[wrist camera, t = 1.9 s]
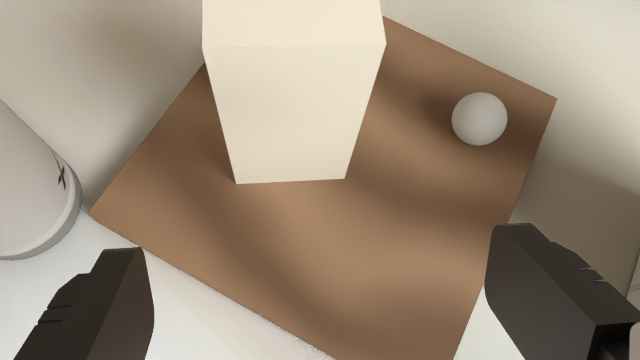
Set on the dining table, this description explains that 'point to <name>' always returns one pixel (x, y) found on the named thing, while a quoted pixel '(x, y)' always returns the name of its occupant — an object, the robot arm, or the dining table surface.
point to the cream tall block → (291, 82)
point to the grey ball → (479, 118)
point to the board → (343, 209)
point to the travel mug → (32, 191)
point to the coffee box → (635, 287)
